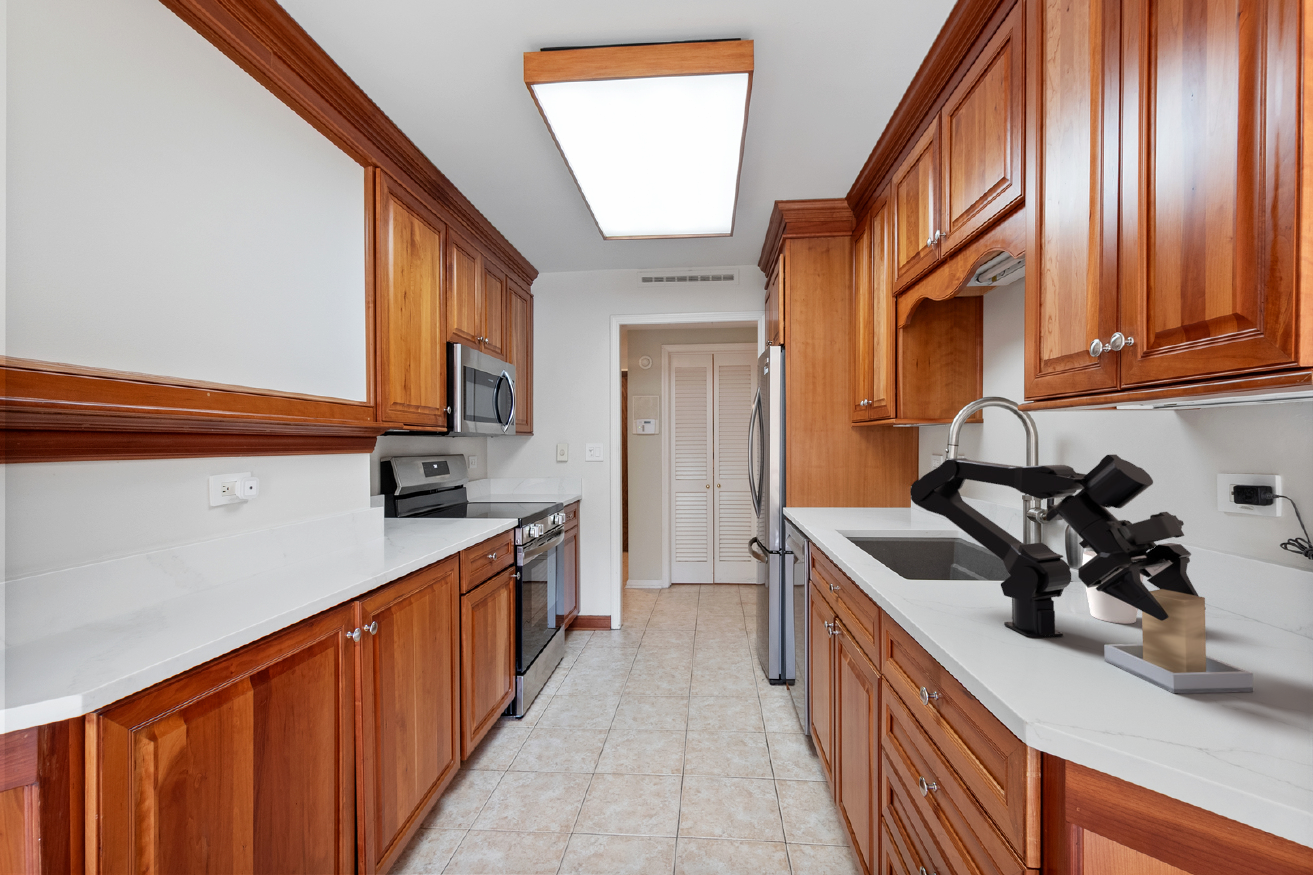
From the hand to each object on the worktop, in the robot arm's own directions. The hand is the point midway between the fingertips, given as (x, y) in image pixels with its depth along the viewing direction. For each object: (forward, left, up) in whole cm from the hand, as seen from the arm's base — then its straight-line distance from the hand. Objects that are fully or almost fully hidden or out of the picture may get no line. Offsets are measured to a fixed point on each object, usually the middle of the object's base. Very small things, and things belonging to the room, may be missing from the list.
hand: (1184, 614), depth 78 cm
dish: (-1, 0, -9) cm, 9 cm away
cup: (-26, +13, -9) cm, 31 cm away
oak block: (-1, 0, -8) cm, 9 cm away
